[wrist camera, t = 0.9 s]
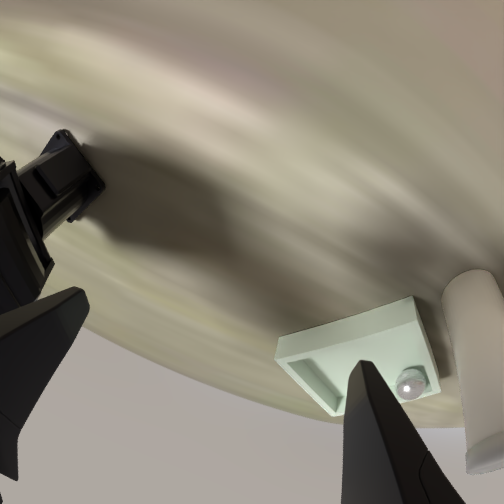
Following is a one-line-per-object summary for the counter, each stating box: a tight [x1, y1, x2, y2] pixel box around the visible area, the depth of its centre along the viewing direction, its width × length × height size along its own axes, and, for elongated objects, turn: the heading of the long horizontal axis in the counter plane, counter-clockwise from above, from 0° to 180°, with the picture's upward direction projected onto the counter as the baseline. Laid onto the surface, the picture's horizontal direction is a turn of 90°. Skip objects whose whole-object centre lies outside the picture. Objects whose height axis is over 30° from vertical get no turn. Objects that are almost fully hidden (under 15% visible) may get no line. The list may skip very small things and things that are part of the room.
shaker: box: [441, 269, 504, 475], centre depth 16 cm, size 5×5×14 cm
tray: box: [274, 296, 441, 417], centre depth 27 cm, size 13×13×3 cm
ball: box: [395, 369, 426, 400], centre depth 26 cm, size 3×3×3 cm
